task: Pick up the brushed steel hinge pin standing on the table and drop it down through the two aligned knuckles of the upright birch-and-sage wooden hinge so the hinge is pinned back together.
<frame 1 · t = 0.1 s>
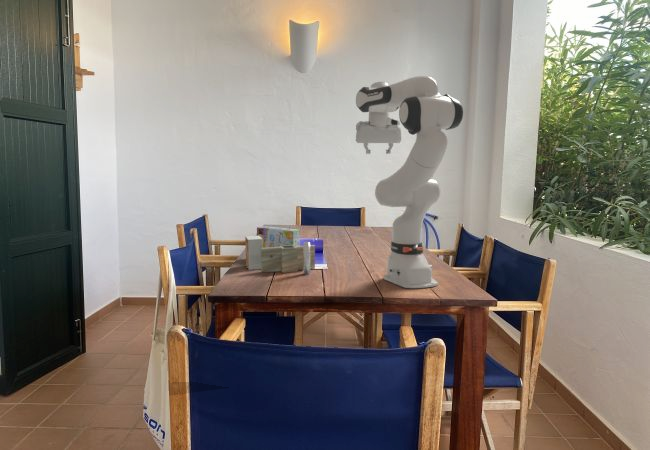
hand: (378, 153, 210), 48 cm above the table, tool pointing down, fingers open, 8 cm apart
hinge pin: (306, 273, 194), on the table
small box: (254, 267, 205), on the table
hinge: (288, 270, 200), on the table
snack box: (278, 261, 218), on the table
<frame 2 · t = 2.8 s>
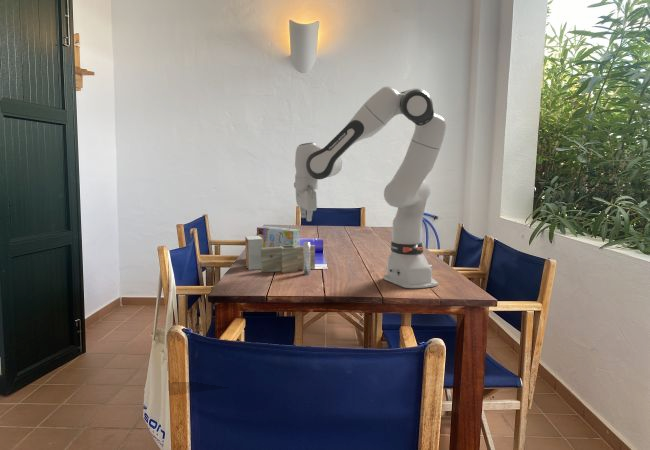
hand: (306, 219, 191), 22 cm above the table, tool pointing down, fingers open, 8 cm apart
nothing on the table moved.
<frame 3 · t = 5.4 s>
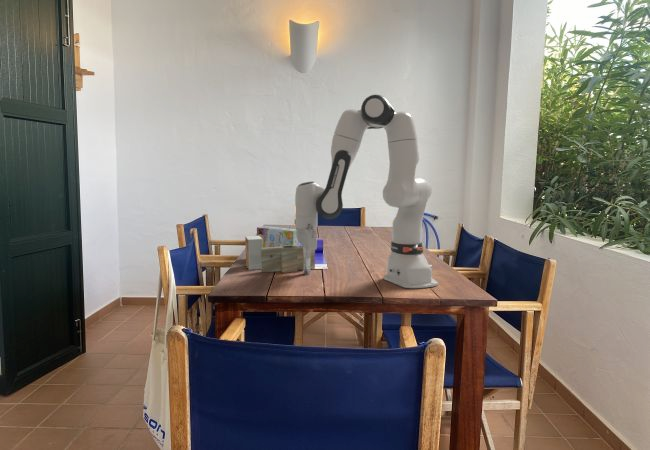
hand: (306, 256, 193), 7 cm above the table, tool pointing down, fingers closed on hinge pin, 3 cm apart
hinge pin: (306, 273, 194), on the table, touching gripper
everything else where it was.
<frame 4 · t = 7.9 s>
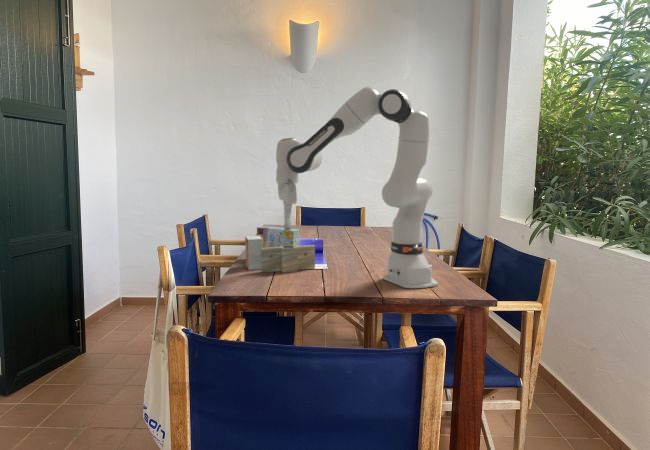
hand: (287, 212, 196), 24 cm above the table, tool pointing down, fingers closed on hinge pin, 3 cm apart
hinge pin: (287, 229, 197), point 17 cm above the table, touching gripper
everything else where it was.
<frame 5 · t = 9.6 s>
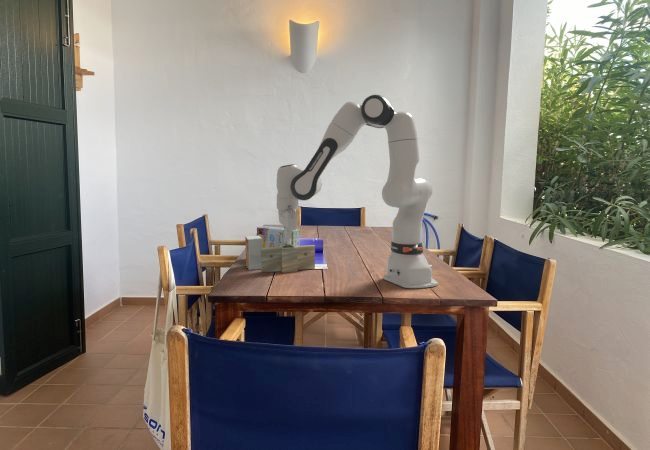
hand: (287, 237, 198), 14 cm above the table, tool pointing down, fingers closed on hinge pin, 3 cm apart
hinge pin: (288, 254, 199), point 7 cm above the table, touching gripper
everything else where it was.
when the fingers open (12 cm above the table, at t = 10.7 s): hinge pin drops 4 cm, resting in hinge.
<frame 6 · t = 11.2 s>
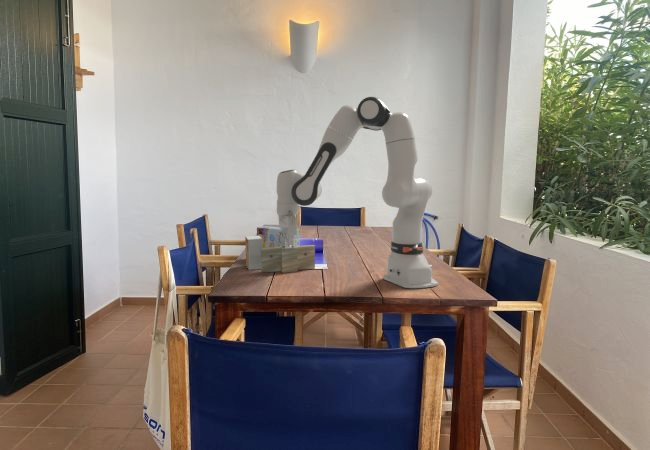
hand: (288, 242, 198), 12 cm above the table, tool pointing down, fingers open, 8 cm apart
hinge pin: (288, 270, 200), resting in hinge
everything else where it was.
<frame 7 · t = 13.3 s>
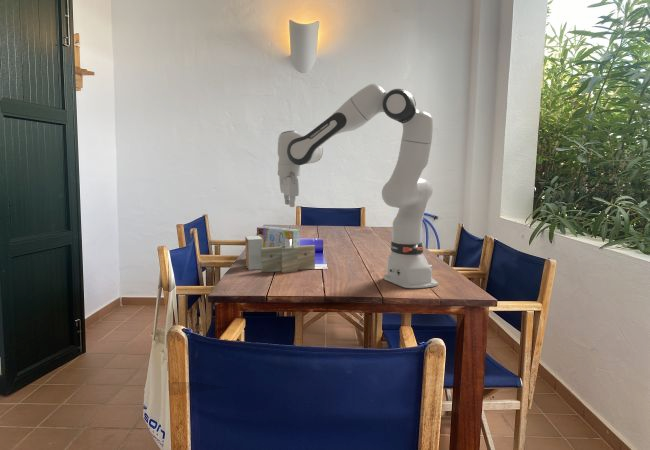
hand: (289, 205, 196), 27 cm above the table, tool pointing down, fingers open, 8 cm apart
nothing on the table moved.
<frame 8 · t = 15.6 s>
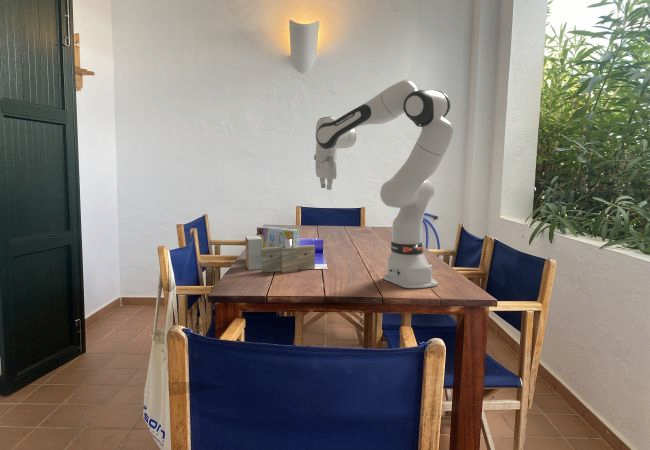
hand: (326, 188, 205), 33 cm above the table, tool pointing down, fingers open, 8 cm apart
nothing on the table moved.
at the end: hinge pin 0.0 cm off-centre on the hinge, point 0.0 cm above the hinge's base; hinge pin tilted 0°; the gripper is holding nothing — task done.
